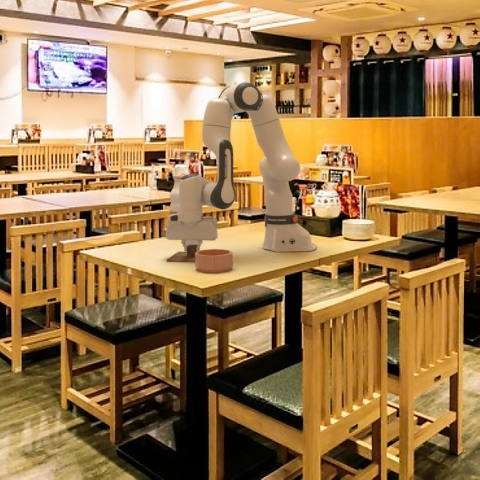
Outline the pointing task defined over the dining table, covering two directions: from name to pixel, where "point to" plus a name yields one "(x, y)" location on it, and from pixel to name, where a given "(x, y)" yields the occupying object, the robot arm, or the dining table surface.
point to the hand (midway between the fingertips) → (192, 251)
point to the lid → (184, 255)
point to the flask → (192, 242)
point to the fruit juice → (175, 196)
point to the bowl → (214, 260)
